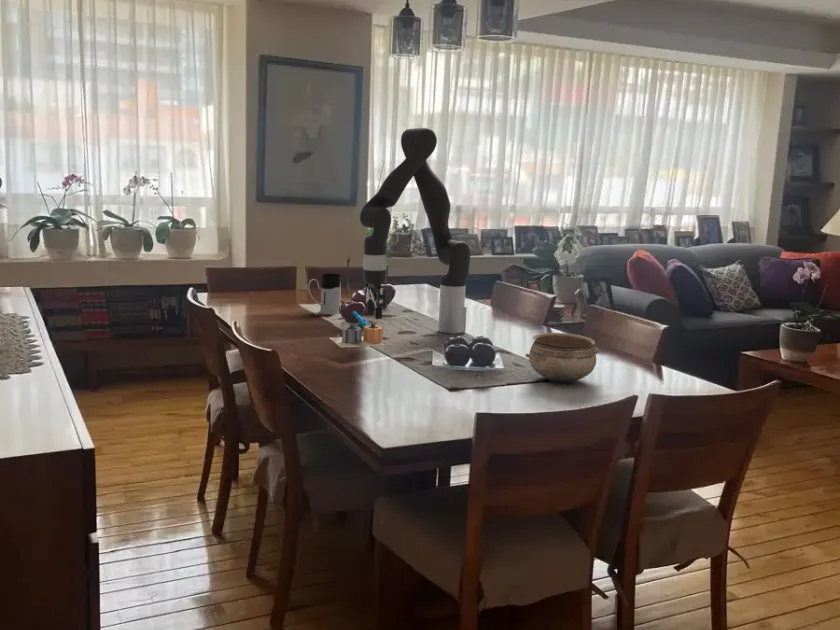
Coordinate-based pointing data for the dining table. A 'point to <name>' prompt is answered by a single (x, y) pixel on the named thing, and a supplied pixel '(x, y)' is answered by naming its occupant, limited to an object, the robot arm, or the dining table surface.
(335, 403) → the dining table surface
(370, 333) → the gear
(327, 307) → the white and black mug
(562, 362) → the cooking pot
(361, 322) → the blue sprocket wheel
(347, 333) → the gear
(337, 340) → the peg board
